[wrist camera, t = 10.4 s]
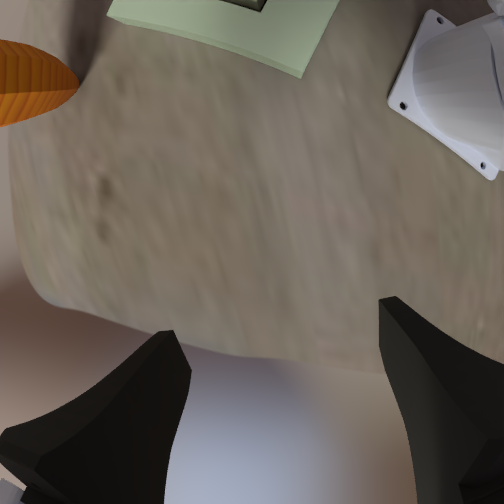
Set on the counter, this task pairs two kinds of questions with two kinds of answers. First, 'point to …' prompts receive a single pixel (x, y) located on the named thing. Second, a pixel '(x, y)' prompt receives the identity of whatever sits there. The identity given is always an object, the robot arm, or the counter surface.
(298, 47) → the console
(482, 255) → the counter surface
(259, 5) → the peg
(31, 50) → the carrot
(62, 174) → the counter surface
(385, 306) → the robot arm
